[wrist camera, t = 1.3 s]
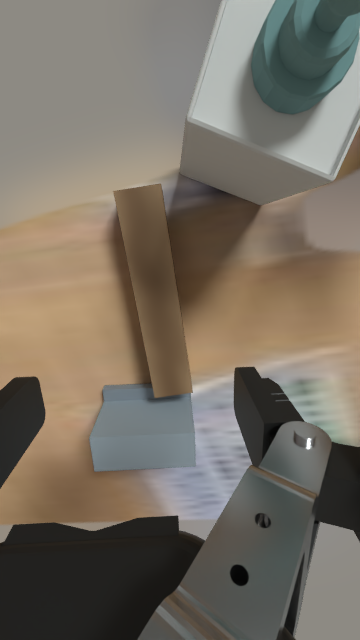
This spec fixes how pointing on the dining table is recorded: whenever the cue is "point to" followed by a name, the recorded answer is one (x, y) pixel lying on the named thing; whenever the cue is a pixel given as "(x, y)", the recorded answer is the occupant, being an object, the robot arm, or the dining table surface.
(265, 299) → the dining table surface
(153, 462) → the fulcrum ridge
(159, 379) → the walnut bar
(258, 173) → the soap bottle
